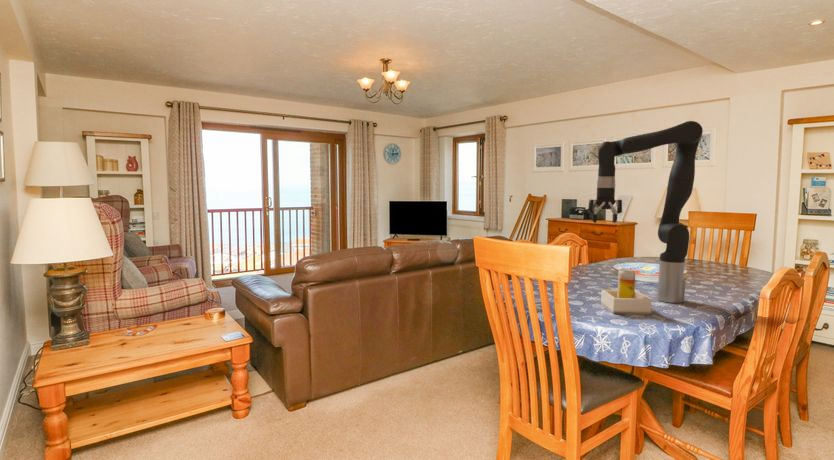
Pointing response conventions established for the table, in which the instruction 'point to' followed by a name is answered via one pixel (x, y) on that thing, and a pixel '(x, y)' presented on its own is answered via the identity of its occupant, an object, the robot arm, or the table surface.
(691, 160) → the robot arm
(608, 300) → the box
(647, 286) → the table surface
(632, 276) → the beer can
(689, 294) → the table surface
